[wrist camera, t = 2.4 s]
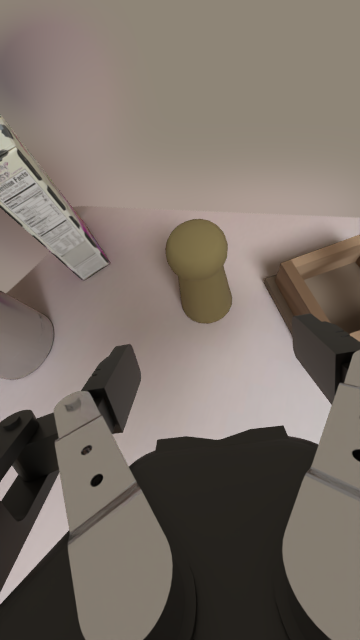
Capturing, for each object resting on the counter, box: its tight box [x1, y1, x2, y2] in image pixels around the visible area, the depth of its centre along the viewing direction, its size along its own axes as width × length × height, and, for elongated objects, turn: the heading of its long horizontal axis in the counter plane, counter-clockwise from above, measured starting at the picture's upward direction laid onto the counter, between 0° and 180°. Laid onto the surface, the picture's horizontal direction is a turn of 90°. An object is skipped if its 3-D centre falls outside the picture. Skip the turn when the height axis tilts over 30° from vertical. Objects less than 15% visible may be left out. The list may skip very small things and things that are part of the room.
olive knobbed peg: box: [166, 219, 232, 323], centre depth 23 cm, size 6×6×11 cm
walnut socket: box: [264, 235, 360, 342], centre depth 23 cm, size 11×11×4 cm
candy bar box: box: [0, 115, 110, 281], centre depth 28 cm, size 11×5×16 cm, turn 33°
